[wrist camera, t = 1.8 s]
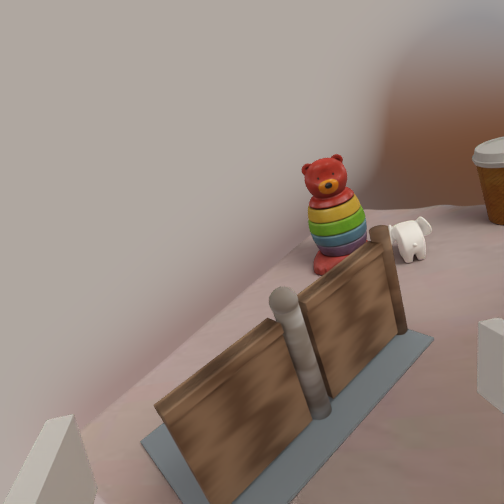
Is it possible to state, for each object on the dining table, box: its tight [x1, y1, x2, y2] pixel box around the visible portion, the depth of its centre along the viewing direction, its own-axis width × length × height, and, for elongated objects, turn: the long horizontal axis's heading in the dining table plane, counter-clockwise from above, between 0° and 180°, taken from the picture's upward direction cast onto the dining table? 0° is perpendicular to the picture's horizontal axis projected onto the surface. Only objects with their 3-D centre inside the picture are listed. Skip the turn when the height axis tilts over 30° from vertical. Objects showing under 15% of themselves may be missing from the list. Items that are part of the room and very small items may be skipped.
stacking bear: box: [302, 154, 367, 275], centre depth 63 cm, size 11×10×18 cm
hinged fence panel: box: [154, 318, 312, 504], centre depth 33 cm, size 12×2×12 cm, turn 129°
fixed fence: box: [269, 225, 408, 420], centre depth 40 cm, size 17×3×15 cm, turn 129°
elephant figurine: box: [388, 217, 432, 263], centre depth 59 cm, size 7×8×6 cm
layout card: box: [140, 329, 434, 504], centre depth 43 cm, size 30×18×1 cm, turn 129°
